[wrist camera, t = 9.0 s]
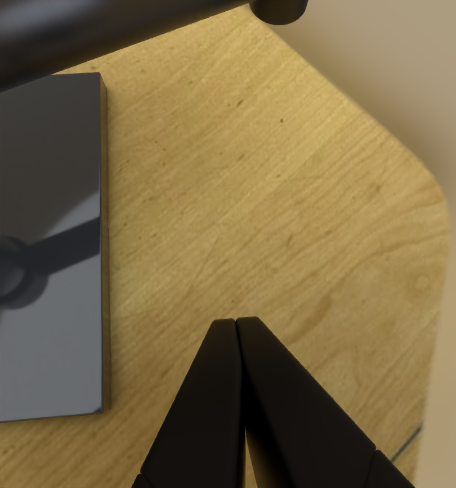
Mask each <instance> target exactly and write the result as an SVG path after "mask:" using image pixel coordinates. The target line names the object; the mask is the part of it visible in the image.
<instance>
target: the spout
mask: <svg viewBox="0 0 456 488" xmlns="http://www.w3.org/2000/svg"><path fill="white" fill-rule="evenodd" d="M307 2H308V0H0V93H1V92H4V91H7V90H9V89H12V88H15V87H18V86H20V85H23V84H26V83H29V82H32V81H34V80H37V79H40V78H43V77H45V76H48V75H51V74H54V73H56V72H59V71H62V70H65V69H68V68H70V67H73V66H76V65H79V64H81V63H84V62H87V61H90V60H92V59H95V58H98V57H101V56H103V55H106V54H109V53H112V52H115V51H117V50H120V49H123V48H126V47H128V46H131V45H134V44H137V43H139V42H142V41H145V40H148V39H150V38H153V37H156V36H159V35H162V34H164V33H167V32H170V31H173V30H175V29H178V28H181V27H184V26H186V25H189V24H192V23H195V22H197V21H200V20H203V19H206V18H209V17H211V16H214V15H217V14H220V13H222V12H225V11H228V10H231V9H233V8H236V7H239V6H242V5H244V4H247V3H249V5H250V8H251V10H252V12H253V13H254V15H255V16H256V17H258V18H259V19H260V20H262V21H264V22H266V23H268V24H273V25H286V24H290V23H292V22H294V21H296V20H297V19H299V18H300V17H301V16H302V15H303V13H304V12H305V9H306V6H307Z"/></svg>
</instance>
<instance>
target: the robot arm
mask: <svg viewBox="0 0 456 488" xmlns="http://www.w3.org/2000/svg"><path fill="white" fill-rule="evenodd" d="M245 431H246V438H247V443H248V448H249V453H250V457H251V461H252V466H253V470H254V474H255V478H256V483H257V487H258V488H415V487H414V486H413V485H412V484H411V483H410V482H409V481H408V480H407V479H406V478H405V477H404V476H403V474H402V473H401V472H400V471H399V470H398V469H397V468H396V467H395V466H394V465H393V464H392V463H391V462H390V460H389V459H388V458H387V457H386V456H385V455H384V454H383V453H382V452H381V451H380V450H376V446H375V444H374V443H373V442H372V441H371V440H370V439H369V438H368V437H367V436H366V434H365V433H364V432H363V431H362V430H361V429H360V428H359V427H358V426H357V425H356V424H355V422H354V421H353V420H352V419H351V418H350V417H349V416H348V415H347V414H346V413H345V412H344V410H343V409H342V408H341V407H340V406H339V405H338V404H337V403H336V402H335V401H334V400H333V398H332V397H331V396H330V395H329V394H328V393H327V392H326V391H325V390H324V389H323V388H322V386H321V385H320V384H319V383H318V382H317V381H316V380H315V379H314V378H313V377H312V376H311V374H310V373H309V372H308V371H307V370H306V369H305V368H304V367H303V366H302V365H301V364H300V362H299V361H298V360H297V359H296V358H295V357H294V356H293V355H292V354H291V353H290V352H289V350H288V349H287V348H286V347H285V346H284V345H283V344H282V343H281V342H280V341H279V340H278V338H277V337H276V336H275V335H274V334H273V333H272V332H271V331H270V330H269V329H268V327H267V326H266V325H265V324H264V323H263V322H262V321H261V320H260V319H259V318H258V317H255V316H253V317H242V318H238V319H237V320H236V322H235V320H234V319H232V318H230V319H219V320H214V321H213V322H212V324H211V326H210V328H209V330H208V332H207V334H206V336H205V338H204V340H203V342H202V344H201V346H200V348H199V350H198V352H197V354H196V356H195V358H194V360H193V362H192V365H191V367H190V369H189V371H188V373H187V375H186V377H185V379H184V381H183V383H182V385H181V387H180V389H179V391H178V393H177V395H176V397H175V399H174V401H173V404H172V406H171V408H170V410H169V412H168V414H167V416H166V418H165V420H164V422H163V424H162V426H161V428H160V430H159V432H158V434H157V436H156V438H155V440H154V443H153V445H152V447H151V449H150V451H149V453H148V455H147V457H146V459H145V461H144V463H143V465H142V467H141V469H140V473H141V474H138V475H137V477H136V479H135V481H134V483H133V485H132V487H131V488H245V469H246V442H245Z"/></svg>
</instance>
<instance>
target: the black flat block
mask: <svg viewBox="0 0 456 488" xmlns="http://www.w3.org/2000/svg"><path fill="white" fill-rule="evenodd" d="M110 409H111V371H110V299H109V228H108V156H107V88H106V86H105V84H104V81H103V79H102V76H101V74H100V72H93V73H75V74H58V75H48V76H45V77H43V78H40V79H37V80H34V81H32V82H29V83H26V84H23V85H20V86H18V87H15V88H12V89H9V90H7V91H4V92H1V93H0V423H6V422H17V421H28V420H39V419H50V418H60V417H71V416H82V415H93V414H102V413H104V412H106V411H108V410H110Z"/></svg>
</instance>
